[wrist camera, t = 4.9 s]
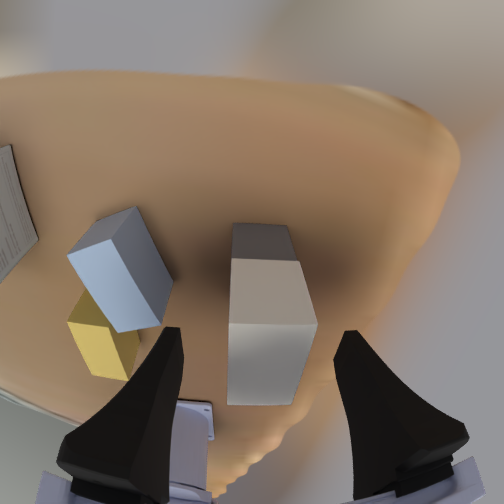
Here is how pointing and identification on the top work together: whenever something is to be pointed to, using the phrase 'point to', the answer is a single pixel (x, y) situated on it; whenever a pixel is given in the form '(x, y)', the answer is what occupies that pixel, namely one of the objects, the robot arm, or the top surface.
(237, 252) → the charcoal brick
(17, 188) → the supplement box
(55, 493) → the robot arm
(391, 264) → the top surface
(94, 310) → the mustard brick
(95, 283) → the blue brick
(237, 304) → the light grey brick
